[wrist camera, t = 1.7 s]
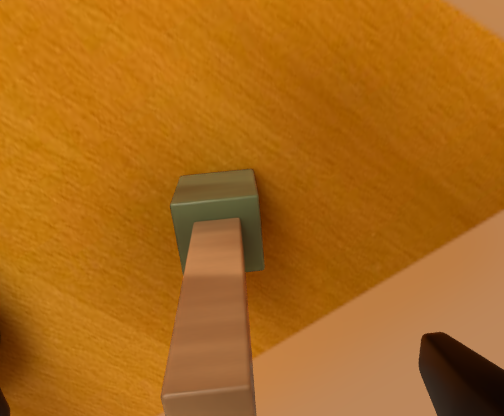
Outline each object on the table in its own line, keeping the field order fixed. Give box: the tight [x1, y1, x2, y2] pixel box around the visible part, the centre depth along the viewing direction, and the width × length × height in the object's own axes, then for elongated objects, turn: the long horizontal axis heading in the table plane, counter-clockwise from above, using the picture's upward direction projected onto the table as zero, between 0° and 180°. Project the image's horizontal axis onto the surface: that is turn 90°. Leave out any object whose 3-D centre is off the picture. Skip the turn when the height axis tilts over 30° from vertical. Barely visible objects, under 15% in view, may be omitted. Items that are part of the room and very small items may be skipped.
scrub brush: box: [161, 169, 265, 416], centre depth 11 cm, size 3×3×10 cm
